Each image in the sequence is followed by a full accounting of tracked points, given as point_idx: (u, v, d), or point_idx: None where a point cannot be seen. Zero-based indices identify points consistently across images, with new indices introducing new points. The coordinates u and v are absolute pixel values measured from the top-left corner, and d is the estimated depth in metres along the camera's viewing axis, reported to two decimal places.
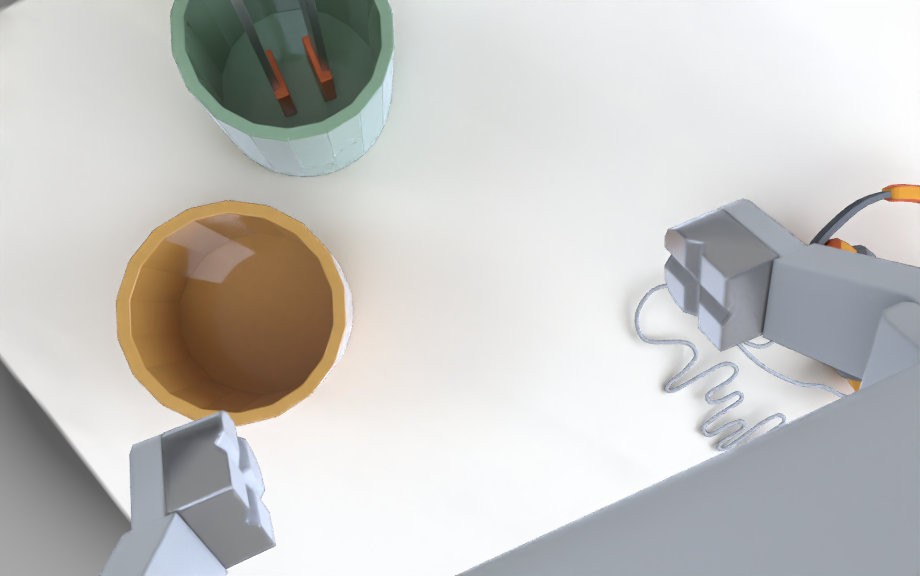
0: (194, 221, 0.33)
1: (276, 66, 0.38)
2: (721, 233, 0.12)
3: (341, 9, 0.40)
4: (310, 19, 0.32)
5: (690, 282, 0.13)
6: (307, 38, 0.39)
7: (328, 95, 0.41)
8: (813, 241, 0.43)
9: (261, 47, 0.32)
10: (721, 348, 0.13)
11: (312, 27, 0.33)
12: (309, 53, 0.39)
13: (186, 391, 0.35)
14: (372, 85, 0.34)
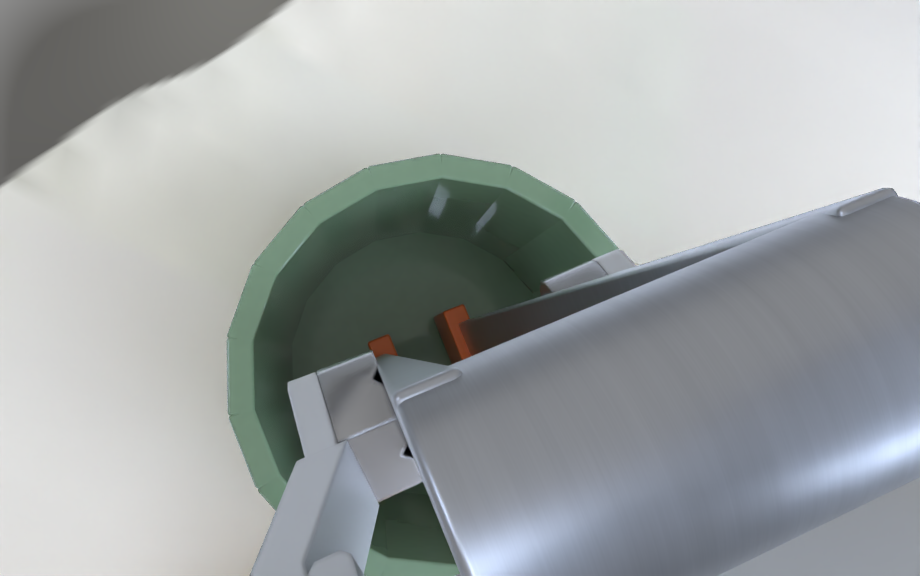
0: None
1: None
2: None
3: (499, 246, 0.24)
4: None
5: None
6: (453, 313, 0.22)
7: None
8: None
9: None
10: None
11: None
12: (456, 340, 0.22)
13: None
14: None
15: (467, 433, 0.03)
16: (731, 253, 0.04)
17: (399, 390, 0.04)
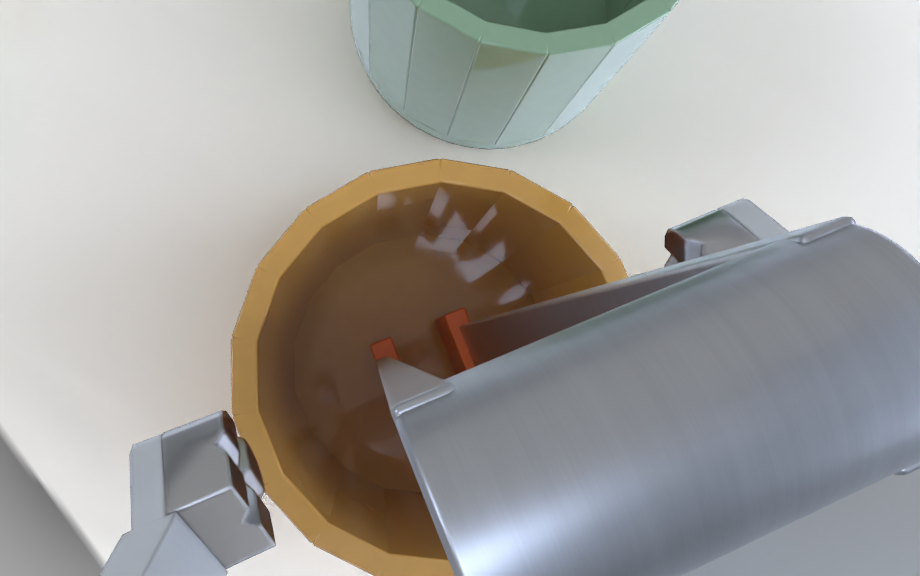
0: (377, 196, 0.18)
1: None
2: (721, 233, 0.12)
3: None
4: None
5: None
6: (454, 316, 0.22)
7: None
8: None
9: None
10: None
11: None
12: (457, 342, 0.22)
13: (341, 508, 0.19)
14: None
15: (458, 443, 0.04)
16: (702, 277, 0.05)
17: (397, 403, 0.04)
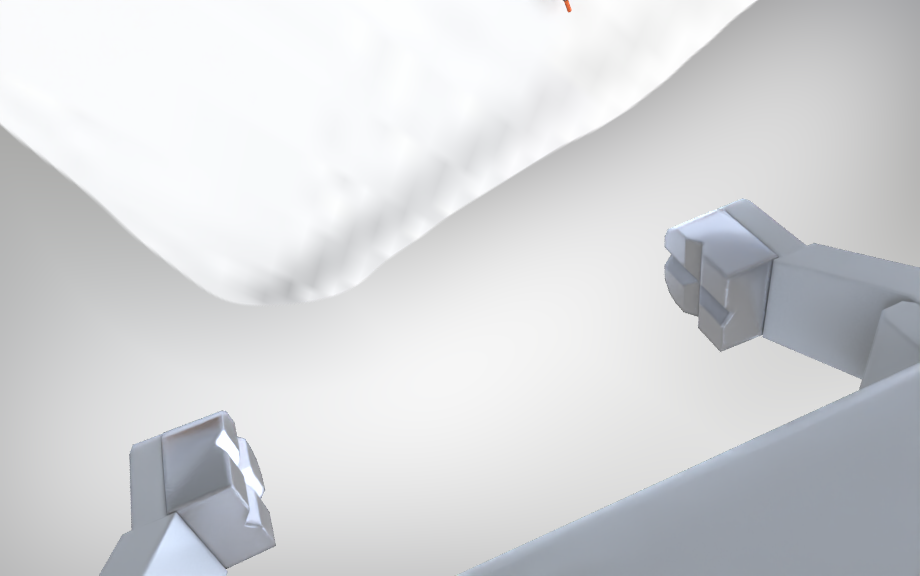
0: None
1: None
2: (721, 233, 0.12)
3: None
4: None
5: (689, 281, 0.13)
6: None
7: None
8: None
9: None
10: (721, 348, 0.13)
11: None
12: None
13: None
14: None
15: None
16: None
17: None
